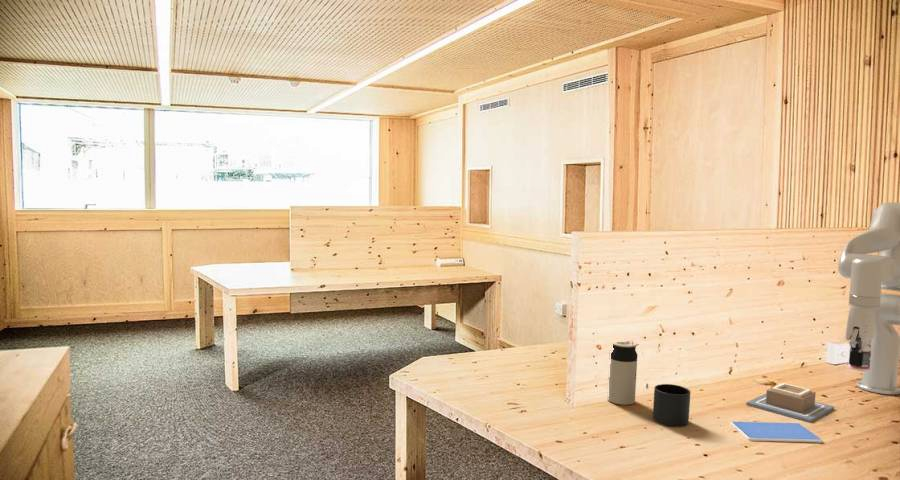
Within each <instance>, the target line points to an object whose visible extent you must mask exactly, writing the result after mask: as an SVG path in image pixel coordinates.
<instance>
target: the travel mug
mask: <svg viewBox="0 0 900 480" xmlns="http://www.w3.org/2000/svg"><path fill="white" fill-rule="evenodd" d="M637 346H638V343H637V342H636V341H633V340H629V341H627V342H617V343H613V348H614V350H613V352H612V353H611V364H610V377H609V376H608V380H609V397H608V396H607V399H608V398H609V400H608V401H609V402H610V403H612V404H614V405H618V406H631V405H633V404H635V402H636V388H637V385H636V384H637V372H638V371H637V368H638V353H637V351H636V349H637V348H636V347H637Z"/></svg>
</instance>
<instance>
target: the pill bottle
mask: <svg viewBox="0 0 900 480" xmlns="http://www.w3.org/2000/svg"><path fill="white" fill-rule="evenodd" d="M857 341H860V339H857ZM857 344H858V343H857ZM858 345H859V347H860V344H858ZM868 345H869V341H867V342H864V344H863V349H862V353H863V363H862V366H861V367H859V366H854V365H850V364H849V362H848V363H847V364H848V368H849V369H850V370H854V371H859V372H863V371H868V370H870V359H871V348H870V347H869V346H868ZM848 352H849V355H848V358H849V357H850V349H849V351H848Z"/></svg>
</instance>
